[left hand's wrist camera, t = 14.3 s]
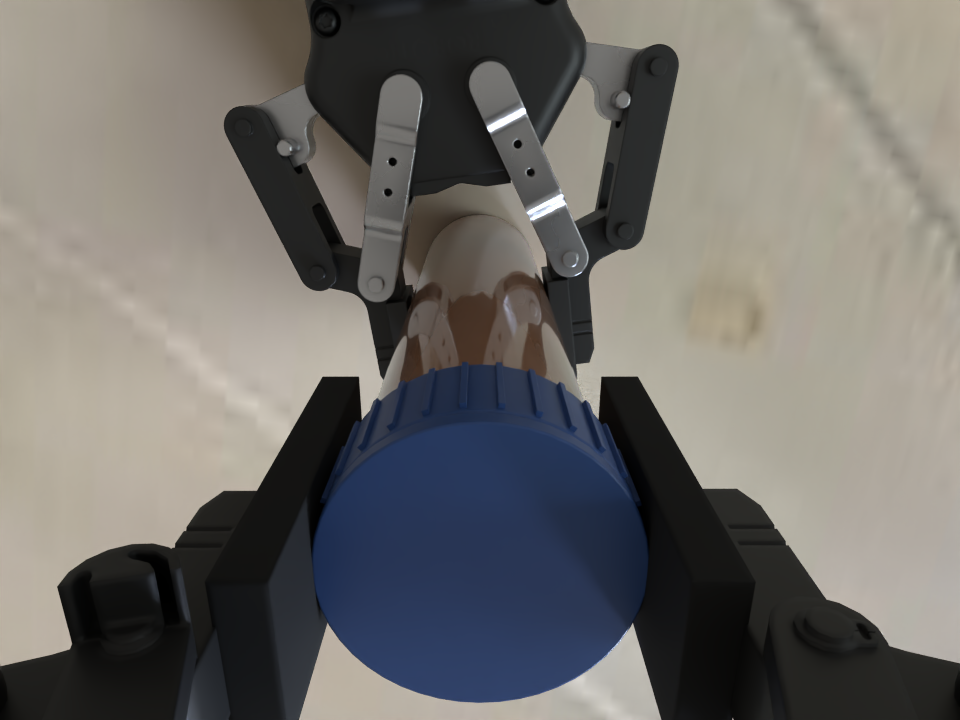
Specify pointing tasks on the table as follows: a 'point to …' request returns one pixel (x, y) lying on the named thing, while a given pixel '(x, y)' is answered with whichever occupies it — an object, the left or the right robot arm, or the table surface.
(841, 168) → the table surface
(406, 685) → the lid
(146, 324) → the table surface
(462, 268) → the brown cylindrical piece
